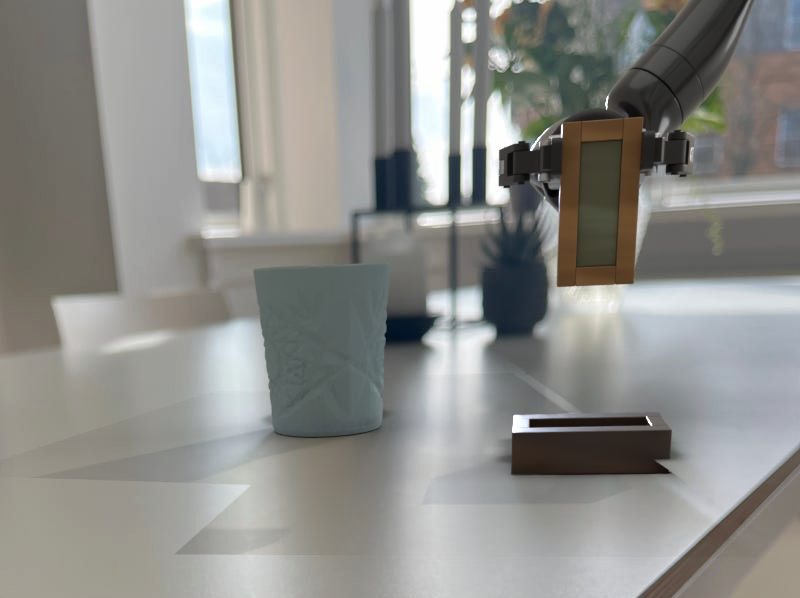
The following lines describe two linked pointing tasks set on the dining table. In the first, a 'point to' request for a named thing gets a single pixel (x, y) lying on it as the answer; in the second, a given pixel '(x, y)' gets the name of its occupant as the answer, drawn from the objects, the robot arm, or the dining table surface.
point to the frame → (599, 202)
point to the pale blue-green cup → (324, 346)
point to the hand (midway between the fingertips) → (601, 152)
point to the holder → (590, 443)
